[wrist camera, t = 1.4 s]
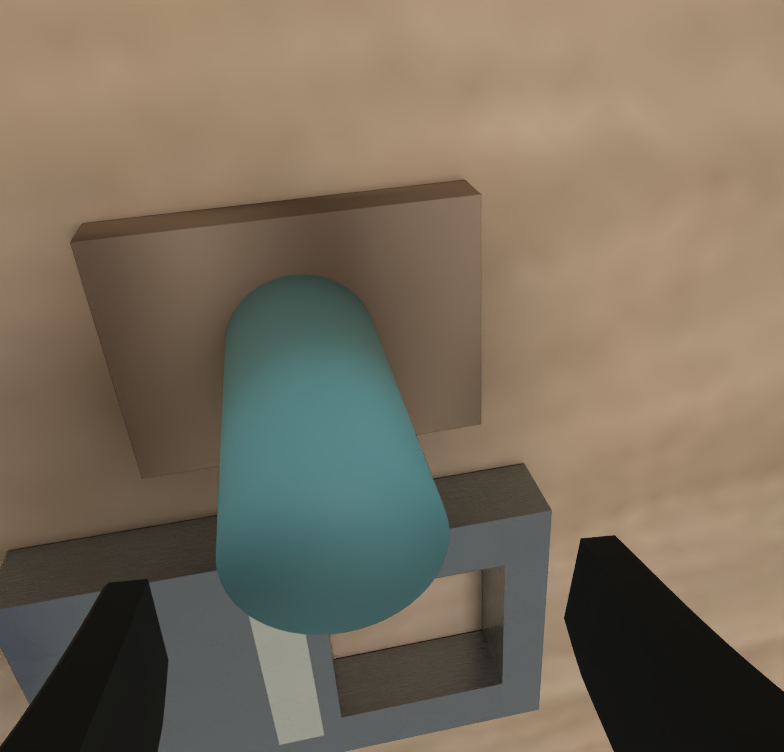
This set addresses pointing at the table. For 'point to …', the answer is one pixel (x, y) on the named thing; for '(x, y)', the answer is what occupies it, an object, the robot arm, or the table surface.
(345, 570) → the peg
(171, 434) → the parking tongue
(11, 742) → the robot arm
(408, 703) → the plate
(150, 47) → the table surface
